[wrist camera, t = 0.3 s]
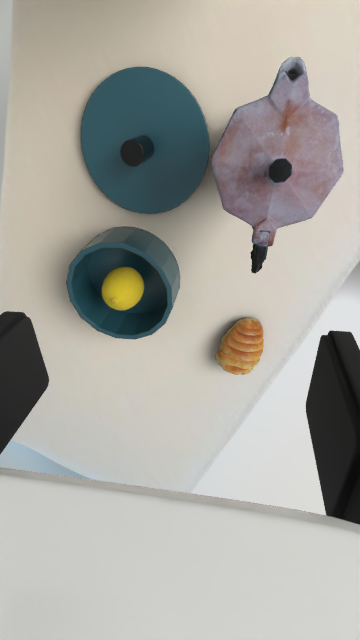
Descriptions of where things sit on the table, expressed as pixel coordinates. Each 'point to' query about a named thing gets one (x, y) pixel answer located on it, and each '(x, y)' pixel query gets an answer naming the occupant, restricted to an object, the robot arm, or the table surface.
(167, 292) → the pot
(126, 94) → the lid
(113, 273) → the lemon
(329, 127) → the moka pot
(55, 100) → the table surface
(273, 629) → the robot arm
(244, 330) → the pastry
